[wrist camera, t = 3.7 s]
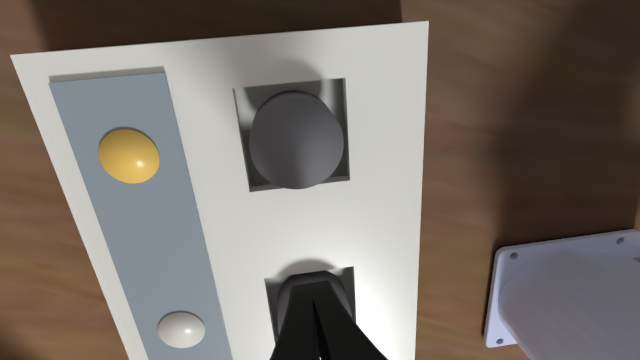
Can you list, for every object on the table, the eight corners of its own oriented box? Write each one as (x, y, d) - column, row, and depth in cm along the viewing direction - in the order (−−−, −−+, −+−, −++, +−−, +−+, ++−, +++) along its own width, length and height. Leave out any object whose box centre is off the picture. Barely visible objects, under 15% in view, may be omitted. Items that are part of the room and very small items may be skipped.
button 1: (332, 86, 15) (341, 94, 13) (337, 166, 16) (345, 183, 15) (245, 94, 15) (242, 103, 13) (258, 175, 16) (256, 194, 14)
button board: (402, 22, 16) (431, 20, 13) (396, 404, 27) (412, 452, 24) (57, 50, 15) (3, 55, 12) (190, 439, 25) (179, 495, 22)
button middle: (343, 264, 18) (351, 290, 17) (346, 317, 20) (353, 347, 18) (273, 273, 18) (273, 301, 16) (281, 327, 20) (282, 358, 18)
